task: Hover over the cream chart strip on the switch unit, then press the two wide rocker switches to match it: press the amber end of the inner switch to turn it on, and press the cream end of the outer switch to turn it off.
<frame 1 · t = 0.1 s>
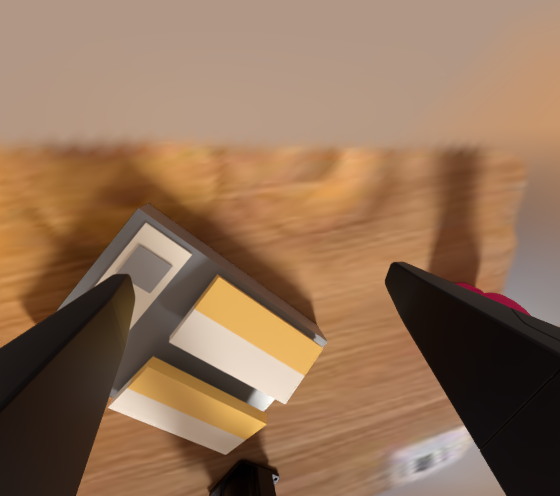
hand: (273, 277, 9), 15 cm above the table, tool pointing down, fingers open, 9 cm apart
pepper mill: (451, 304, 33), on the table
switch b: (253, 343, 22), point 4 cm above the table, hinge at 12.0°
switch a: (193, 410, 23), point 4 cm above the table, hinge at -12.0°
switch unit: (195, 329, 26), on the table
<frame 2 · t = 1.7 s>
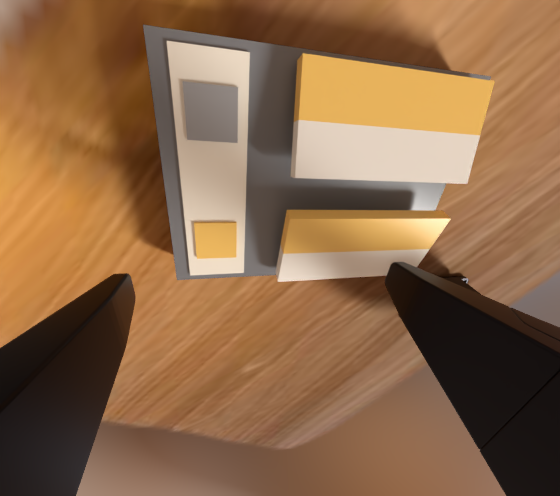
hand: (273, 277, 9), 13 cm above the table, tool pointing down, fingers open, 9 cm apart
switch b: (392, 129, 16), point 4 cm above the table, hinge at 12.0°
switch a: (358, 246, 20), point 4 cm above the table, hinge at -12.0°
switch unit: (308, 174, 21), on the table
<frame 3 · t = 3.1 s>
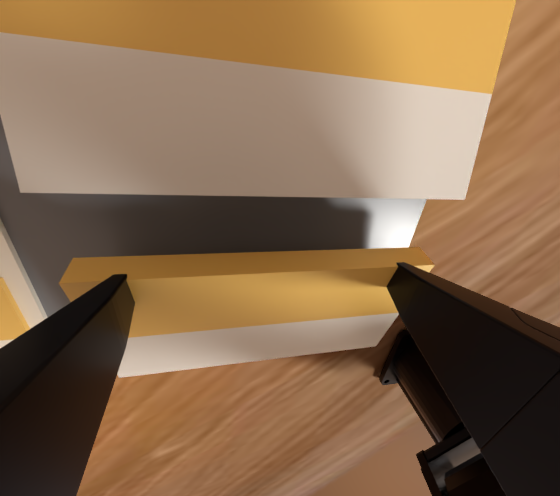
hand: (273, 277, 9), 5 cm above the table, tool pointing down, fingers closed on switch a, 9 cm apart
switch b: (284, 74, 7), point 4 cm above the table, hinge at 12.0°
switch a: (265, 314, 11), point 4 cm above the table, hinge at -11.5°, touching gripper
switch unit: (183, 180, 12), on the table
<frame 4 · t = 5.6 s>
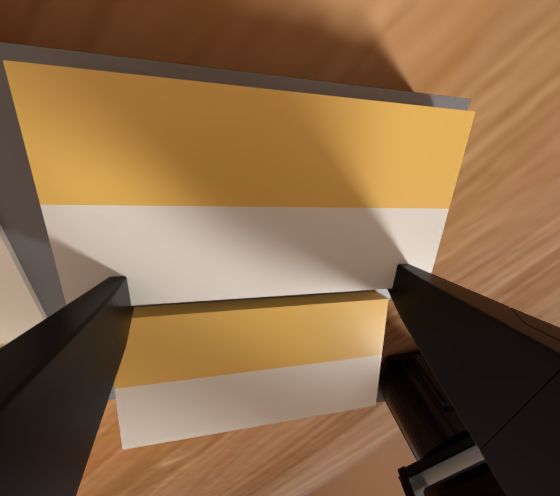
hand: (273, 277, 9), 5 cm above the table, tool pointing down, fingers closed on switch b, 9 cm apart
switch b: (275, 203, 8), point 4 cm above the table, hinge at 11.3°, touching gripper
switch a: (261, 362, 12), point 4 cm above the table, hinge at 19.0°
switch unit: (189, 245, 13), on the table
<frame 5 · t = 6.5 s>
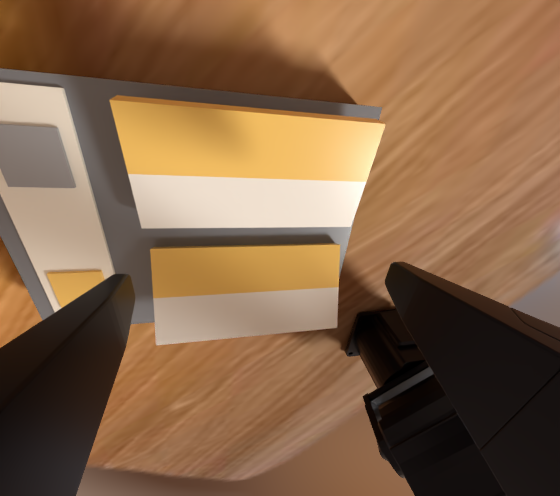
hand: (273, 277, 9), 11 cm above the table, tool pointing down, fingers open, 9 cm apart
switch b: (257, 174, 14), point 4 cm above the table, hinge at -8.0°
switch a: (252, 290, 18), point 4 cm above the table, hinge at 22.8°, touching switch unit
switch unit: (201, 210, 19), on the table
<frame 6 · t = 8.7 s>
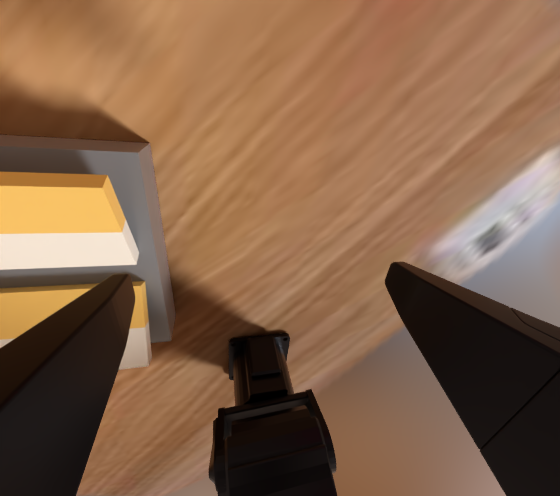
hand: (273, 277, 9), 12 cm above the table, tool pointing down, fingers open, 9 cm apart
switch a: (47, 332, 17), point 4 cm above the table, hinge at 19.1°
switch unit: (7, 248, 18), on the table
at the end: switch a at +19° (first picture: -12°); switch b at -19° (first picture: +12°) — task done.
